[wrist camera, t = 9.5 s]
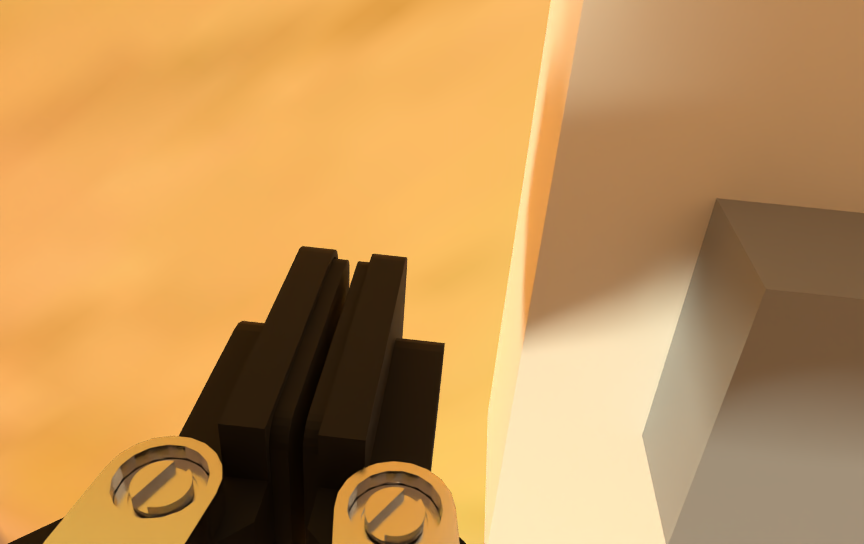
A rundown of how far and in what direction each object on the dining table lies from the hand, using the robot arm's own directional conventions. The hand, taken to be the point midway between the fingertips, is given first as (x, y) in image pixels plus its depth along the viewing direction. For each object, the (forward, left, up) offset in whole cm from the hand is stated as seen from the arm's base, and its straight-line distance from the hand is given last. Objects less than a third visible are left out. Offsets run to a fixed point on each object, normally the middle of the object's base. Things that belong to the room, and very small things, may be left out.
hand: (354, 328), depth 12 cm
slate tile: (0, +8, -1) cm, 8 cm away
